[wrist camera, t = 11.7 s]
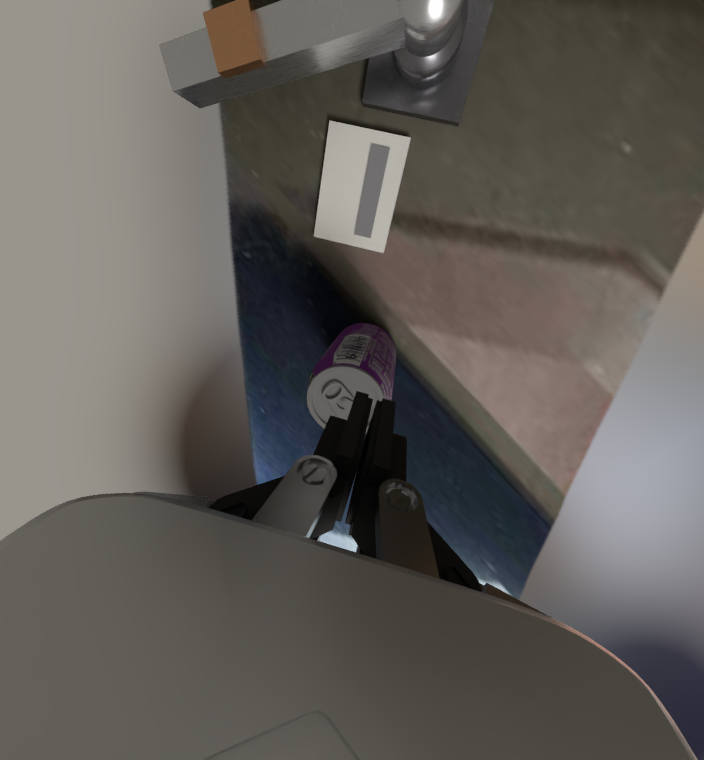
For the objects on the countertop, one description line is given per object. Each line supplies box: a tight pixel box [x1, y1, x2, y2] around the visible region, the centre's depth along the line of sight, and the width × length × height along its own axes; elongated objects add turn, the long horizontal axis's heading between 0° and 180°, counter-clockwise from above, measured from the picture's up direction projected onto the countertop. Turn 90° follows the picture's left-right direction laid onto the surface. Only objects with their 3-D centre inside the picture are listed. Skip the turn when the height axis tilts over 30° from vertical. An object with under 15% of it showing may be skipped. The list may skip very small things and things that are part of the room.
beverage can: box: [307, 323, 396, 433], centre depth 29 cm, size 7×7×12 cm
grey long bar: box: [159, 0, 464, 108], centre depth 19 cm, size 20×4×4 cm, turn 98°
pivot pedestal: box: [362, 0, 495, 126], centre depth 21 cm, size 8×8×4 cm
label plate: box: [314, 120, 411, 253], centre depth 27 cm, size 9×7×1 cm
